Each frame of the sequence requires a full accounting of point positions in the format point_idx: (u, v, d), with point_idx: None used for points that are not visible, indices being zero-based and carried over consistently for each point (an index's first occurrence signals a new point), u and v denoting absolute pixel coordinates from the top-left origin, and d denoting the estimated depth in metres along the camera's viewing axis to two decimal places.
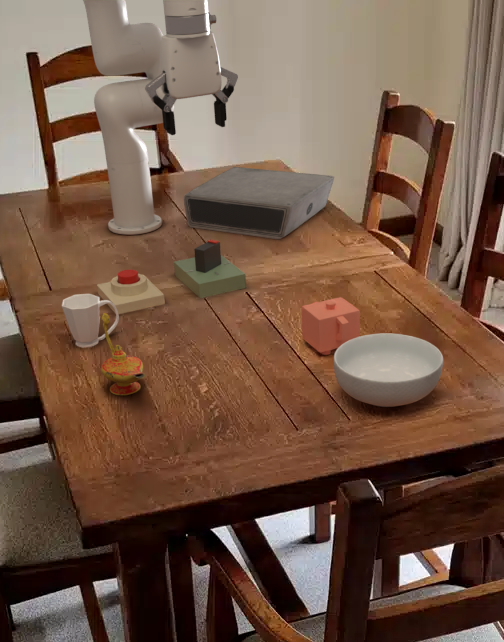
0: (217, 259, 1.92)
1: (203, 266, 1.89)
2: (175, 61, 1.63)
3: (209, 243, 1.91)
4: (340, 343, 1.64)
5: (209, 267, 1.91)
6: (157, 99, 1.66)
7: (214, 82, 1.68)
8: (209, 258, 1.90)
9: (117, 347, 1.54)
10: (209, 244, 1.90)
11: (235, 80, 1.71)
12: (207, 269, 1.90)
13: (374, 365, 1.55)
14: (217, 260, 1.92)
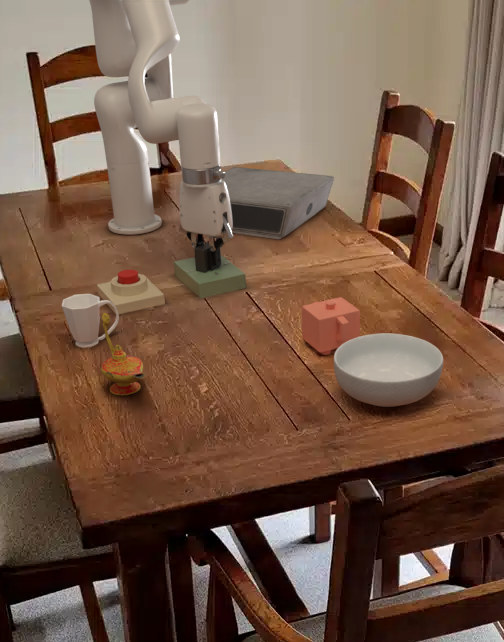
0: None
1: (203, 266, 1.89)
2: (182, 200, 1.85)
3: None
4: (340, 343, 1.64)
5: None
6: (188, 234, 1.90)
7: (212, 227, 1.84)
8: None
9: (117, 347, 1.54)
10: None
11: (226, 240, 1.85)
12: (207, 269, 1.90)
13: (374, 365, 1.55)
14: None
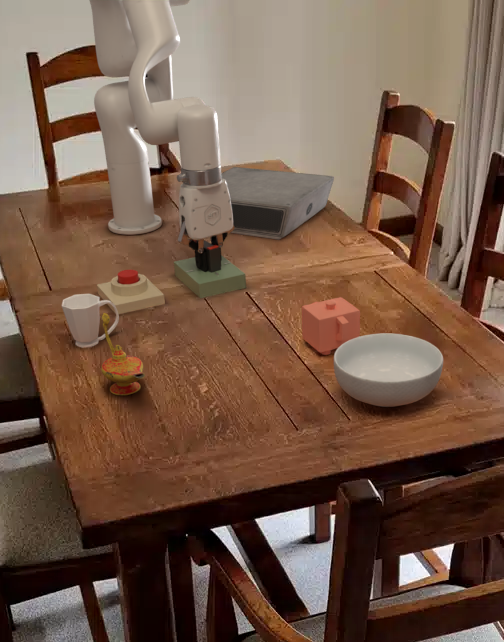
0: None
1: None
2: None
3: (210, 246, 1.89)
4: (340, 343, 1.64)
5: None
6: None
7: None
8: None
9: (117, 347, 1.54)
10: (208, 246, 1.89)
11: None
12: None
13: (374, 365, 1.55)
14: None
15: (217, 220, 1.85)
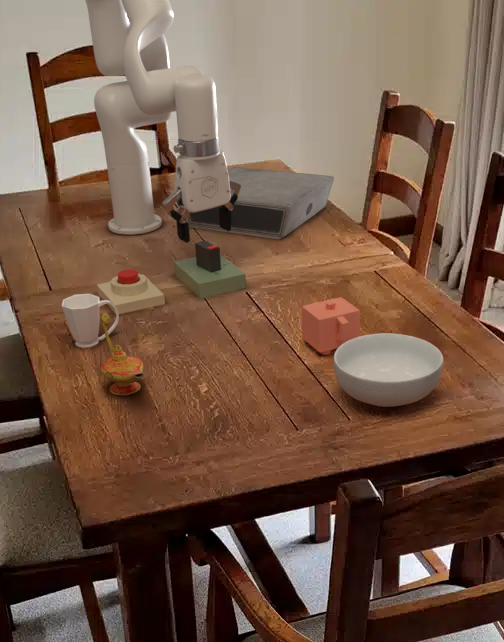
0: (207, 264, 1.90)
1: None
2: None
3: (210, 246, 1.89)
4: (340, 343, 1.64)
5: (200, 264, 1.92)
6: (230, 194, 1.89)
7: None
8: (199, 256, 1.91)
9: (117, 347, 1.54)
10: (208, 246, 1.89)
11: (165, 206, 1.81)
12: (198, 263, 1.93)
13: (374, 365, 1.55)
14: (207, 265, 1.90)
15: (214, 192, 1.82)
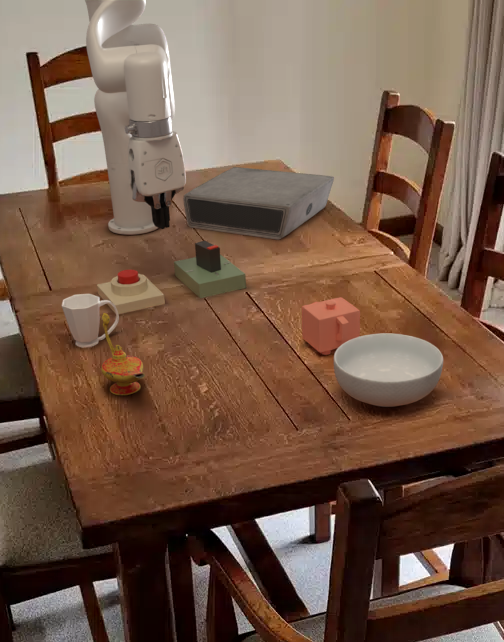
0: (207, 264, 1.90)
1: None
2: None
3: (210, 246, 1.89)
4: (340, 343, 1.64)
5: (200, 264, 1.92)
6: None
7: None
8: (199, 256, 1.91)
9: (117, 347, 1.54)
10: (208, 246, 1.89)
11: None
12: (198, 263, 1.93)
13: (374, 365, 1.55)
14: (207, 265, 1.90)
15: (168, 175, 1.76)
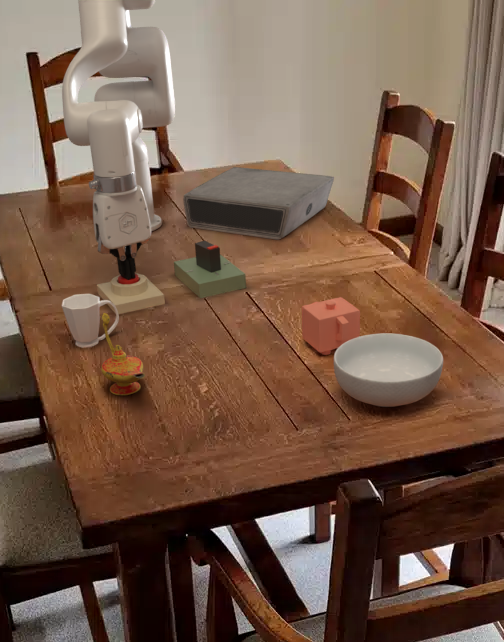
0: (207, 264, 1.90)
1: None
2: None
3: (210, 246, 1.89)
4: (340, 343, 1.64)
5: (200, 264, 1.92)
6: None
7: None
8: (199, 256, 1.91)
9: (117, 347, 1.54)
10: (208, 246, 1.89)
11: None
12: (198, 263, 1.93)
13: (374, 365, 1.55)
14: (207, 265, 1.90)
15: (133, 228, 1.79)
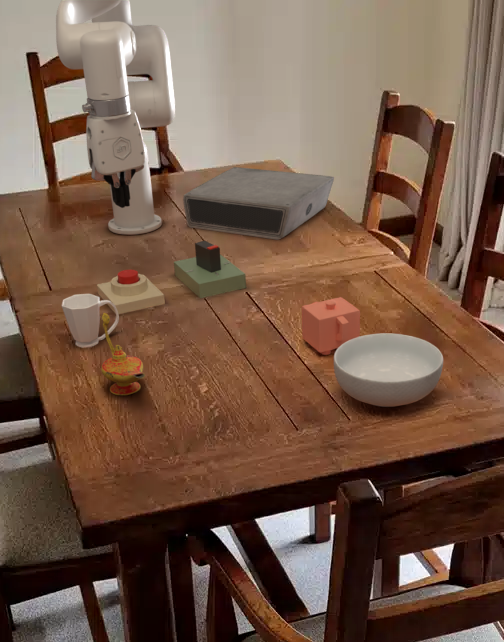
0: (207, 264, 1.90)
1: None
2: None
3: (210, 246, 1.89)
4: (340, 343, 1.64)
5: (200, 264, 1.92)
6: None
7: None
8: (199, 256, 1.91)
9: (117, 347, 1.54)
10: (208, 246, 1.89)
11: None
12: (198, 263, 1.93)
13: (374, 365, 1.55)
14: (207, 265, 1.90)
15: (127, 154, 1.77)
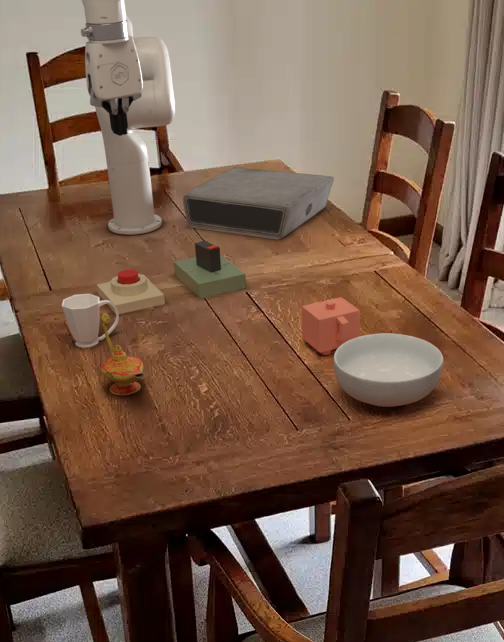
0: (207, 264, 1.90)
1: None
2: None
3: (210, 246, 1.89)
4: (340, 343, 1.64)
5: (200, 264, 1.92)
6: None
7: None
8: (199, 256, 1.91)
9: (117, 347, 1.54)
10: (208, 246, 1.89)
11: None
12: (198, 263, 1.93)
13: (374, 365, 1.55)
14: (207, 265, 1.90)
15: (125, 80, 1.81)
